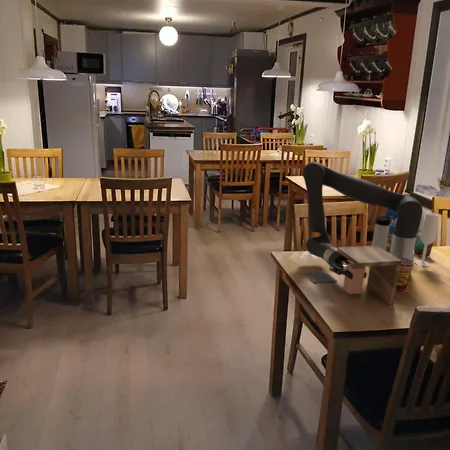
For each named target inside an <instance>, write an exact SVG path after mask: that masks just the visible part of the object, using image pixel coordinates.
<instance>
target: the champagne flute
mask: <svg viewBox="0 0 450 450" xmlns="http://www.w3.org/2000/svg"><path fill="white" fill-rule="evenodd" d="M438 219H439V214H437V213H435V212H426V214H425V217H424V220H423V224H422V227H421V229H420V230H421V233H420V239H421V241H422V242H423V243H424V244H425V245H424V250H423V255H422V256H421V259H420V260H417V261H415V263H416V264H417V265H416V264H415V263H414V264H415V265H416V266H418V265H420V266H419V267H421V266H429V265H430V264H429V263H428V262H427V261H426V260H425V259H426V257H425V255H426V250H427V245H428V244H431V243H432V242H433V243H435V241H436V240H437V239H436V238H437V230H438V229H437V228H438ZM429 267H430V266H429Z"/></svg>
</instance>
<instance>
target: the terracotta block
mask: <svg viewBox="0 0 450 450" xmlns="http://www.w3.org/2000/svg"><path fill="white" fill-rule="evenodd" d="M366 268H367V267H365V268H364V267H358V266H357V265H355V264H347V265H346V269H347V270H349V271H350V272H351V273H352V274H353V279H349V278H348V277H347V276H344V279H343V286H342V288H343V289H344V290H345V291H346V292H347V293H348V294H350V295H351V294H362V292H363V285H364V280H365V278H364V274H365V272H366Z"/></svg>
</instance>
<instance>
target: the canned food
mask: <svg viewBox="0 0 450 450" xmlns="http://www.w3.org/2000/svg"><path fill="white" fill-rule="evenodd" d="M396 258H398V259H399V260H401V266H400V271H399V277H398V282H397V287H396V293H401V292H402V293H407V292H408V290H409V284H410V281H411V275H412V271H413V270H412V269H413V266H412V265H414V261H412V260H410V259H408V258H404V257H396ZM411 270H412V271H411Z"/></svg>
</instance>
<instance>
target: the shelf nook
mask: <svg viewBox="0 0 450 450" xmlns="http://www.w3.org/2000/svg"><path fill="white" fill-rule="evenodd" d="M336 248H337V251H338V252H339V253H340V254H342V255H343V256H344V257H346V258H347V259H349V260H350V261H351V262H353V263H354V264H355V265H357V266H358V267H365V268H369V271H368V276H367V277H368V278H367V284H366V288H368V289H369V290H370V291H371V292H373V293H374V294H375V295H377V297H378V298H380V299H382V301H384V302H385V303H387V305H389V306H393V305H394V303H395V296H396V293H397V292H396V287H397V282H398V277H399V271H400V266H401V260H399V259H398V258H396V257H395V256H393V255H391V254H390V253H389V252H387V251H385V250H383V249H382V248H380V247H378V246H372V245H362V246H361V245H360V246H359V245H358V246H337V247H336Z"/></svg>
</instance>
